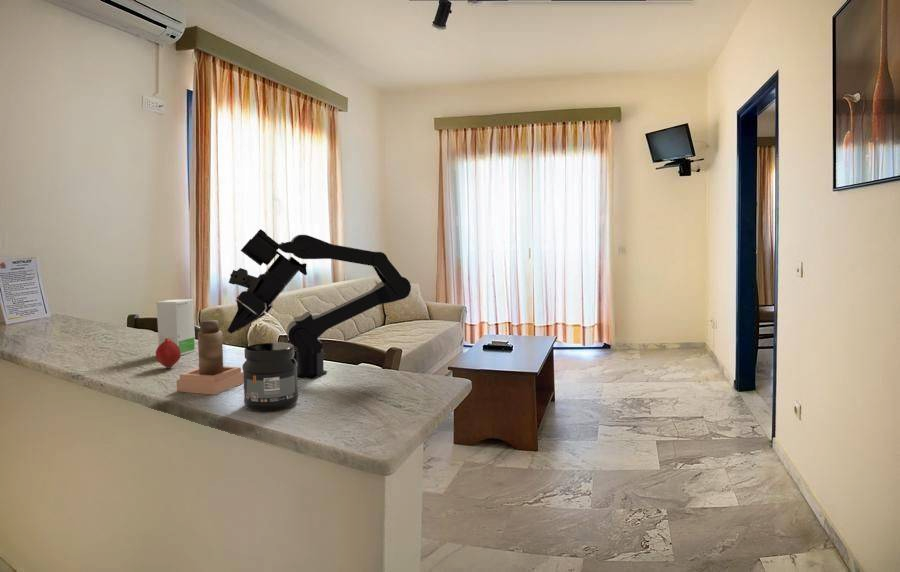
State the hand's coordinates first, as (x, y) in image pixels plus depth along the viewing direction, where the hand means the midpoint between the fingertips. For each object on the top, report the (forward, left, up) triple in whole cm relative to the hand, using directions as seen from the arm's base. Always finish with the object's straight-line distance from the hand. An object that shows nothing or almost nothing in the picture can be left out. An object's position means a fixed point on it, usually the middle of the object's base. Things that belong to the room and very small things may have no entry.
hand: (232, 330), depth 129 cm
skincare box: (+36, -22, -12) cm, 44 cm away
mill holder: (+2, +5, -12) cm, 13 cm away
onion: (+25, -7, -12) cm, 29 cm away
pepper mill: (+2, +5, -10) cm, 11 cm away
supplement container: (-19, +13, -12) cm, 26 cm away
